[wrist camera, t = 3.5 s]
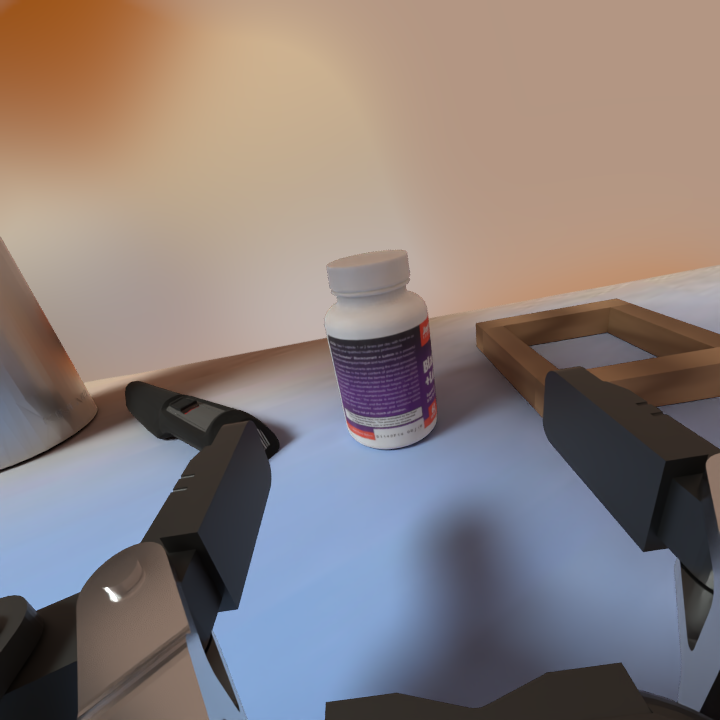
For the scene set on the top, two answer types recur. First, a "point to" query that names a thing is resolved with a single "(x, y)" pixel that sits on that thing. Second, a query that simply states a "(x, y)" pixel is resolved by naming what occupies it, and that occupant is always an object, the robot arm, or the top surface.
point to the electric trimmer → (188, 416)
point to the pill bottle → (381, 350)
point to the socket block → (644, 377)
